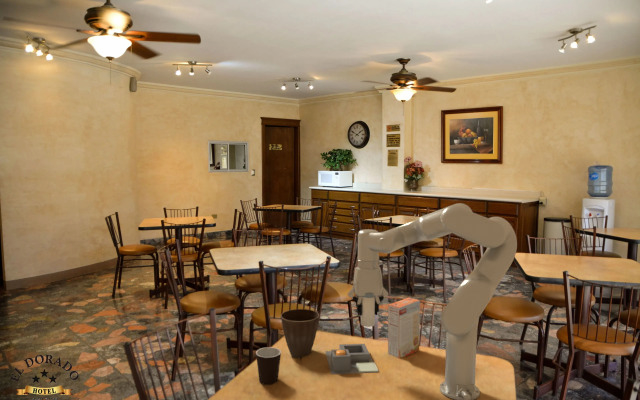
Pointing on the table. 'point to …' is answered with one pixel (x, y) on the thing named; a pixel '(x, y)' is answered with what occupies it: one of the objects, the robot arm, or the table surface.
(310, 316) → the plant pot
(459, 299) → the robot arm
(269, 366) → the coffee mug
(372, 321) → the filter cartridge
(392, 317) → the cracker box
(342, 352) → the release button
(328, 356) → the grey compartment tray
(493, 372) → the table surface
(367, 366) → the mat
